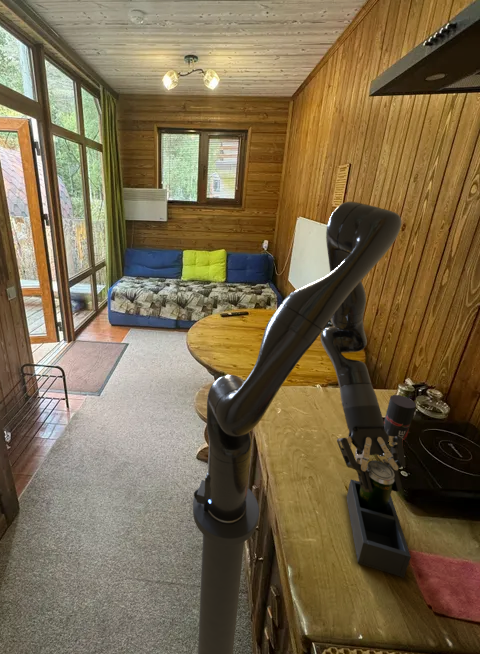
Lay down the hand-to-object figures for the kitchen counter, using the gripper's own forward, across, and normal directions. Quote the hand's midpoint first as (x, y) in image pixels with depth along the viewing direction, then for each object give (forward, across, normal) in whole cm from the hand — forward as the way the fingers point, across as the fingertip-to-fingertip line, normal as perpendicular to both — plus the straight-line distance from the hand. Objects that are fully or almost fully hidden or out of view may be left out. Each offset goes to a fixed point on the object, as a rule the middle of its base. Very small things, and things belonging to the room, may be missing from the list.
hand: (382, 491), depth 64 cm
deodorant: (-9, +20, +23) cm, 32 cm away
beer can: (+5, 0, +7) cm, 9 cm away
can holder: (+8, -1, +6) cm, 10 cm away
